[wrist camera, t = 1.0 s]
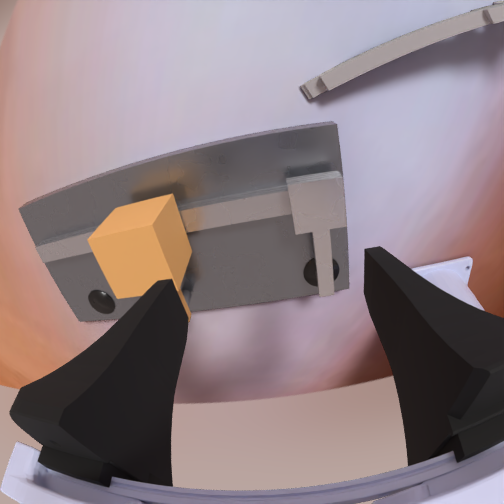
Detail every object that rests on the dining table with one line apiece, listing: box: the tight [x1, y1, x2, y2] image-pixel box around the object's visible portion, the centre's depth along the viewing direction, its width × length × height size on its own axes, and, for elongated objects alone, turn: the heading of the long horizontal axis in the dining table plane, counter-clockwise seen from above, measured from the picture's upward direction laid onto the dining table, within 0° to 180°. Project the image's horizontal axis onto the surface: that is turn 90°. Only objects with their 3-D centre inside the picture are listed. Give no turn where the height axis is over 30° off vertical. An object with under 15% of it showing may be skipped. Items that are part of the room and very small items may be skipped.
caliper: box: [300, 1, 504, 99], centre depth 11 cm, size 20×1×6 cm, turn 125°
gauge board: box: [19, 121, 349, 322], centre depth 20 cm, size 12×24×3 cm, turn 102°
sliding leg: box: [87, 194, 192, 322], centre depth 18 cm, size 8×4×5 cm, turn 12°
